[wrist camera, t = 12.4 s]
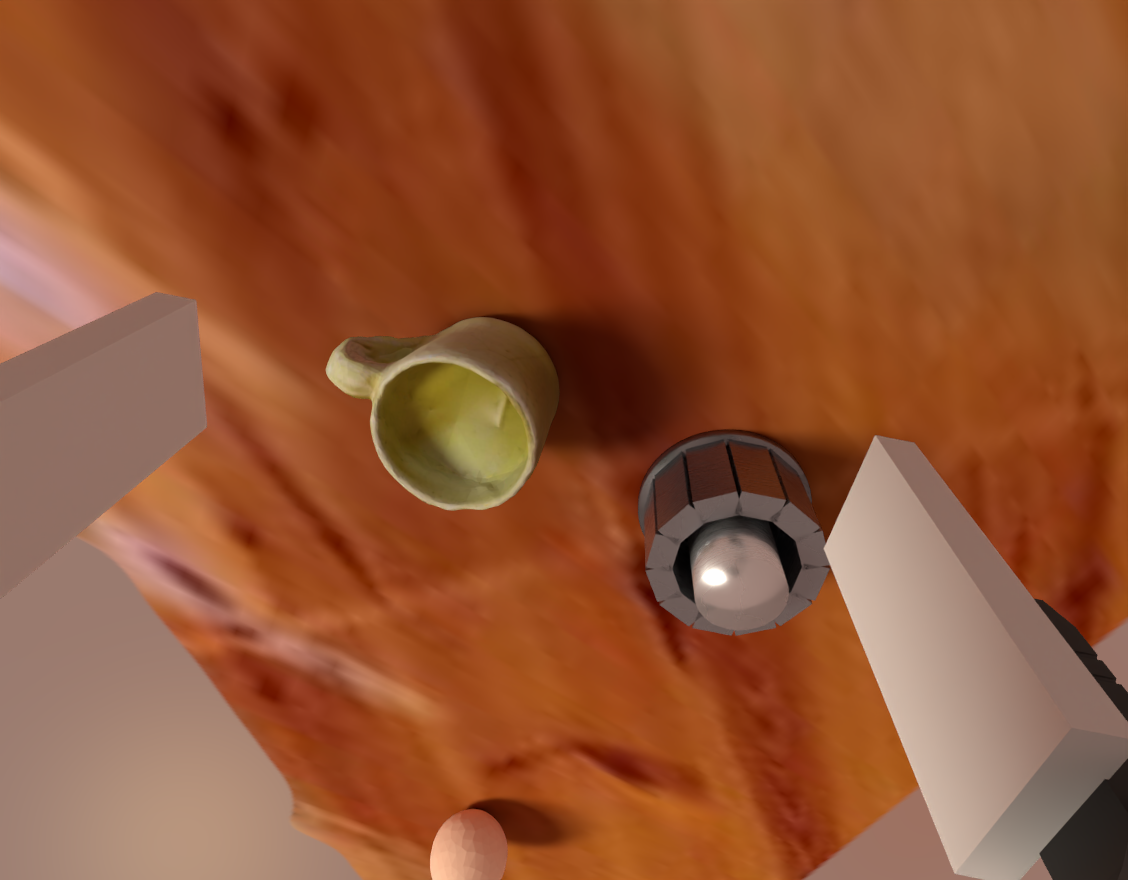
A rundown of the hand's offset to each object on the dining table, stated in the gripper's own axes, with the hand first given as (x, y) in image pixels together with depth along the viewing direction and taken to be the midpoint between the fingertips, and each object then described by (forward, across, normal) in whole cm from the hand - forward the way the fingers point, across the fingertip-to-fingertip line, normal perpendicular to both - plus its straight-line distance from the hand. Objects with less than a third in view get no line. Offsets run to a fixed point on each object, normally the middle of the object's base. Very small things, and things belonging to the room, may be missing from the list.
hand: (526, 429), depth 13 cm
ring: (+26, +12, -17) cm, 33 cm away
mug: (+27, -6, -11) cm, 30 cm away
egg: (+27, 0, -55) cm, 61 cm away
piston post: (+27, +12, -17) cm, 34 cm away
